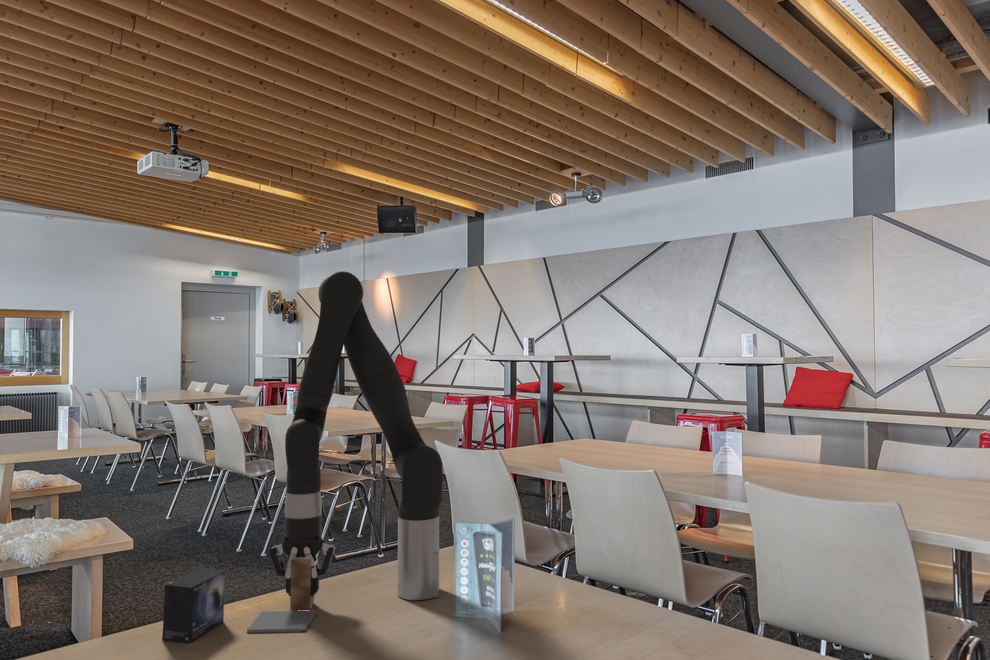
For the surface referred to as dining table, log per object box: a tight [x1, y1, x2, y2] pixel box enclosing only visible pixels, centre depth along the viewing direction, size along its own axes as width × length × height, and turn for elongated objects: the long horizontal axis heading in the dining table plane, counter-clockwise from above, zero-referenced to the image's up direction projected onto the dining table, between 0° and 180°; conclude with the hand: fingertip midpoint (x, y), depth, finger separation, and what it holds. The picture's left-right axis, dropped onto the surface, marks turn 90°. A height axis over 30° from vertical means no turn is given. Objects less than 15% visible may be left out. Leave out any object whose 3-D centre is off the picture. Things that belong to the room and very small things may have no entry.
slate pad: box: [246, 610, 316, 634], centre depth 131 cm, size 11×9×1 cm
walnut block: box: [289, 556, 315, 611], centre depth 140 cm, size 4×4×11 cm
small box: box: [161, 567, 226, 644], centre depth 128 cm, size 11×6×10 cm, turn 168°
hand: (302, 594), depth 140 cm, fingers closed on walnut block, 4 cm apart
